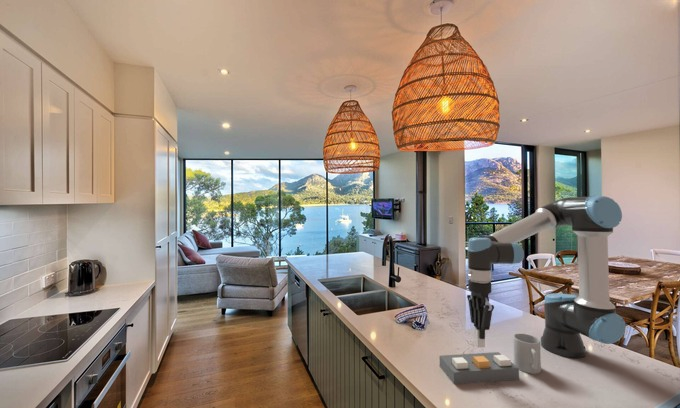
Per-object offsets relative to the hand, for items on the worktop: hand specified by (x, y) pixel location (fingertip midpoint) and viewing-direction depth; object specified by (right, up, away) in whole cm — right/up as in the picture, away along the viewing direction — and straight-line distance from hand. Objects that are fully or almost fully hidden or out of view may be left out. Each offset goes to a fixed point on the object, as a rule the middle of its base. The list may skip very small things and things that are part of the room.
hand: (480, 346), depth 100 cm
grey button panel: (0, -11, +3) cm, 11 cm away
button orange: (0, -8, 0) cm, 8 cm away
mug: (+20, -11, +3) cm, 23 cm away
